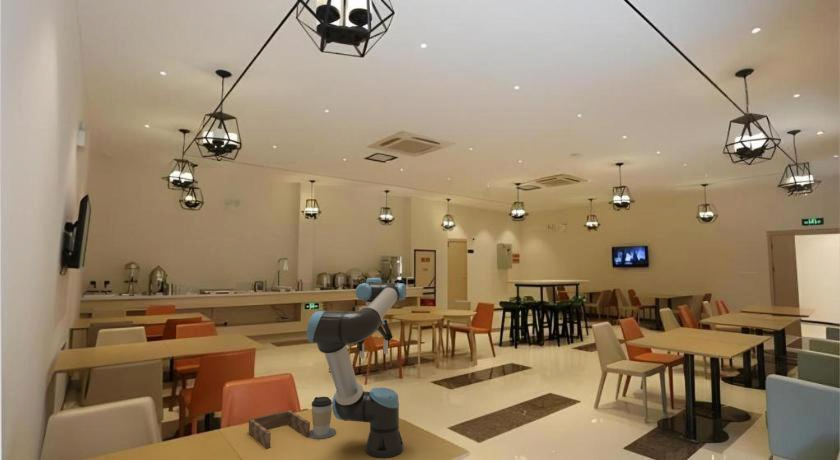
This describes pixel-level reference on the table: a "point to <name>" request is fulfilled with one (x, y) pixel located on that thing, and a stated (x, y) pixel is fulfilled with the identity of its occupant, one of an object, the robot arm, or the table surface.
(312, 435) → the coaster
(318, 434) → the coffee cup
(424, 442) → the table surface
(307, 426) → the brown rectangular open frame
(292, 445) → the table surface
